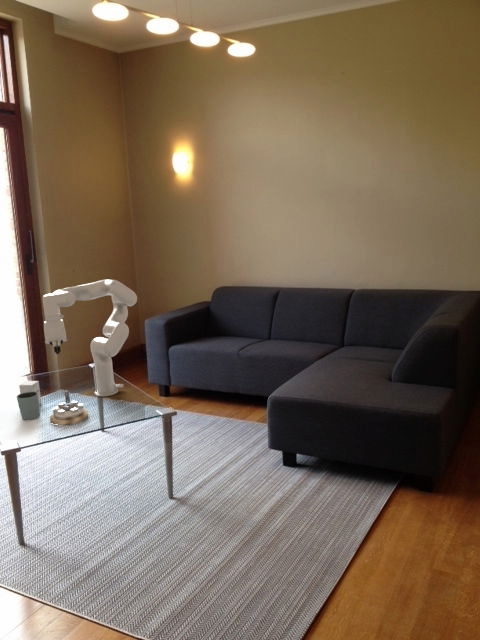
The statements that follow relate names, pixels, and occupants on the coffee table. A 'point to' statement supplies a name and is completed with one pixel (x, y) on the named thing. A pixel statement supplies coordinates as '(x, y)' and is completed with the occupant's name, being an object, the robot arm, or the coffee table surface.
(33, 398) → the grey-green cup
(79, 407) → the disc with radial blocks
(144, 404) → the coffee table surface
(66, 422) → the round tan disc base
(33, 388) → the supplement box
